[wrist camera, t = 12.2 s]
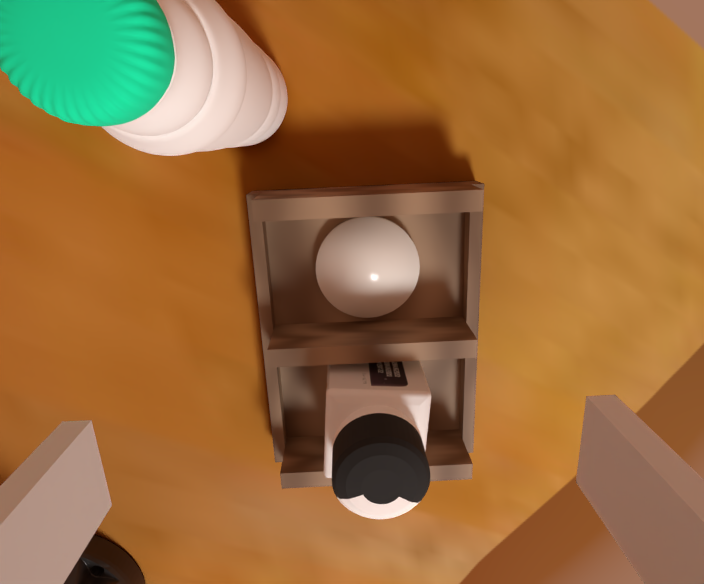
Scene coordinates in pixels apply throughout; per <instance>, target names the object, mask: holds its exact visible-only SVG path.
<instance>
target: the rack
mask: <svg viewBox="0 0 704 584" xmlns="http://www.w3.org/2000/svg"><path fill="white" fill-rule="evenodd" d="M246 198H247V207H248V216H249V225H250V235H251V244H252V253H253V262H254V271H255V280H256V290H257V299H258V308H259V317H260V326H261V335H262V345H263V354H264V363H265V372H266V381H267V391H268V400H269V409H270V418H271V427H272V436H273V446H274V455H275V462H282V467H281V472H280V476H281V485H282V488H301V487H322V486H332V478H327V477H325V475H324V444H325V413H326V387H327V369H328V365H336V364H357V363H378V362H399V361H420V363H421V366H422V369H423V372H424V375H425V378H426V381H427V384H428V387H429V389H430V392H431V404H430V414H429V423H428V432H427V441H426V451H425V453H426V456H427V460H428V464H429V468H430V481H442V480H462V479H472V466H473V464H472V461H471V459H470V456H469V454H468V453H473V443H474V418H475V394H476V370H477V346H478V321H479V297H480V273H481V249H482V224H483V200H484V184H483V183H480V182H477V181H460V182H438V183H416V184H394V185H372V186H350V187H328V188H306V189H284V190H262V191H251V192H250V193H248V194H247V195H246ZM373 216H380V217H383V218H386V219H388V220H391V221H393V222H394V223H396V224H397V225H399V226H400V227H401V228H402V229H403V230H404V231H405V232H406V233H407V234H408V235H409V237H410V238H411V240H412V241H413V243H414V245H415V247H416V249H417V252H418V256H419V263H420V270H419V277H418V281H417V284H416V287H415V288H414V290H413V292H412V294H411V295H410V297H409V298H408V299H407V300H406V301H405V302H404V303H403V304H402V305H401V306H400V307H398V308H397V309H395V310H394V311H392V312H390V313H388V314H385V315H382V316H378V317H371V318H362V317H355V316H352V315H349V314H346V313H344V312H342V311H340V310H338V309H337V308H336V307H334V306H333V305H332V304H331V303H330V302H329V301H328V300H327V299H326V297H325V296H324V295H323V293H322V291H321V289H320V287H319V285H318V281H317V277H316V260H317V254H318V251H319V248H320V246H321V243H322V241H323V240H324V238H325V237H326V235H327V234H328V233H329V232H330V231H331V230H332V229H333V228H334V227H335V226H337V225H338V224H339V223H341V222H343V221H345V220H347V219H350V218H352V217H373Z"/></svg>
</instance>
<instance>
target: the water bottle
mask: <svg viewBox="0 0 704 584" xmlns="http://www.w3.org/2000/svg"><path fill="white" fill-rule="evenodd" d="M0 68H1V70H2V71H3V72H5V73H6V74H7V75H8V77H9V80H10V82H11V83H12V84H13V85H15V86H16V87H18V89H19V91H20V93H21V94H22V95H23V96H25V97H27V98H28V99H30V100H31V102H32V103H33V104H34V105H35V106H37V107H39V108H42V109H44V110H45V112H47V113H48V114H50V115H53V116H56V117H58V118H60V119H61V120H63V121H65V122H69V123H74V124H81V125H86V126H101V127H102V128H103V129H105V130H106V131H107V132H108V133H109V134H111V135H112V136H113V137H115V138H116V139H118V140H119V141H121V142H122V143H124V144H126V145H128V146H130V147H132V148H135V149H137V150H140V151H143V152H146V153H150V154H155V155H164V156H176V155H184V154H189V153H193V152H199V151H211V150H218V149H223V148H233V147H240V146H251V145H255V144H258V143H261V142H263V141H264V140H266V139H268V138H269V137H270V136H271V135H273V134H274V133H275V132H276V130H277V129H278V128H279V126H280V125H281V123H282V121H283V119H284V116H285V113H286V109H287V88H286V84H285V81H284V78H283V76H282V74H281V72H280V70H279V68H278V67H277V65H276V64H275V63H274V61H273V60H272V59H271V58H270V57H269V56H268V55H267V54H265V53H264V52H263V50H262V49H261V48H260V47H259V46H257V45H256V44H255V43H254V42H253V41H252V40H251V38H250V37H249V36H248V35H247V34H246V33H245V32H244V31H243V29H242V28H241V27H240V26H239V25H238V24H237V23H236V22H234V21H233V20H232V19H231V18H230V17H229V16H228V15H227V14H226V13H225V11H224V10H223V9H222V7H221V6H220V5H219V4H218V3H217V2H216V1H215V0H0Z"/></svg>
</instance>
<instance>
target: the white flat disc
mask: <svg viewBox="0 0 704 584" xmlns="http://www.w3.org/2000/svg"><path fill="white" fill-rule="evenodd" d="M419 270H420V263H419V256H418V252H417V249H416V247H415V245H414V243H413V241H412V240H411V238H410V237H409V235H408V234H407V233H406V232H405V231H404V230H403V229H402V228H401V227H400V226H399V225H397V224H396V223H394V222H393V221H391V220H388V219H386V218H383V217H380V216H373V217H352V218H350V219H347V220H345V221H343V222H341V223H339V224H338V225H337V226H335V227H334V228H333V229H332V230H331V231H330V232H329V233H328V234H327V235H326V237H325V238H324V240H323V241H322V243H321V246H320V248H319V251H318V254H317V260H316V277H317V281H318V285H319V287H320V289H321V291H322V293H323V295H324V296H325V297H326V299H327V300H328V301H329V302H330V303H331V304H332V305H333V306H334V307H336V308H337V309H338V310H340V311H342V312H344V313H346V314H349V315H352V316H355V317H362V318H371V317H378V316H382V315H385V314H388V313H390V312H392V311H394V310H395V309H397V308H398V307H400V306H401V305H402V304H403V303H404V302H405V301H406V300H407V299H408V298H409V297H410V295H411V294H412V292H413V290H414V288H415V287H416V284H417V281H418V277H419Z"/></svg>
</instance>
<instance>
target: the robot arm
mask: <svg viewBox="0 0 704 584" xmlns="http://www.w3.org/2000/svg"><path fill="white" fill-rule="evenodd" d="M576 483H577V484H578V486H579V487H580V489H581V490H582V492H583V493H584V495H585V496H586V497H587V499H588V501H589V502H590V504H591V505H592V506H593V508H594V510H595V511H596V513H597V514H598V515H599V517H600V519H601V520H602V521H603V523H604V524H605V526H606V527H607V529H608V530H609V532H610V533H611V535H612V536H613V538H614V539H615V541H616V542H617V544H618V545H619V547H620V548H621V550H622V551H623V553H624V554H625V556H626V557H627V559H628V560H629V562H630V563H631V565H632V566H633V568H634V569H635V571H636V572H637V574H638V575H639V577H640V578H641V579H642V581H643V582H644V584H704V479H703V478H702V477H701V476H699V475H698V474H697V473H696V472H695V471H694V470H693V469H692V468H691V467H690V466H689V465H688V464H687V463H686V462H685V461H684V460H683V459H682V458H681V457H680V456H679V455H678V454H676V453H675V452H674V451H673V450H672V449H671V448H670V447H669V446H668V445H667V444H666V443H665V442H664V441H663V440H662V439H661V438H660V437H659V436H658V435H657V434H656V433H654V432H653V431H652V430H651V429H650V428H649V427H648V426H647V425H646V424H645V423H644V422H643V421H642V420H641V419H640V418H639V417H638V416H637V415H636V414H635V413H634V412H633V411H632V410H630V409H629V408H628V407H627V406H626V405H625V404H624V403H623V402H622V401H621V400H620V399H619V398H618V397H617V396H616V395H602V396H586V404H585V413H584V421H583V429H582V437H581V445H580V454H579V462H578V470H577V479H576ZM111 506H112V504H111V499H110V495H109V491H108V487H107V483H106V479H105V475H104V470H103V466H102V462H101V458H100V454H99V450H98V446H97V441H96V437H95V433H94V429H93V425H92V421H91V420H88V421H67V422H62V423H61V424H60V425H59V426H58V427H57V428H56V429H55V430H54V431H53V432H52V433H51V434H50V435H49V436H48V437H47V438H46V439H45V440H44V441H43V442H42V443H41V444H40V445H39V446H38V447H37V448H36V450H35V451H34V452H33V453H32V454H31V455H30V456H29V457H28V458H27V459H26V460H25V461H24V462H23V463H22V464H21V465H20V466H19V467H18V468H17V469H16V470H15V471H14V472H13V473H12V474H11V475H10V476H9V477H8V479H7V480H6V481H5V482H4V483H3V484H2V485H1V486H0V584H145V580H144V577H143V575H142V573H141V571H140V569H139V567H138V566H137V564H136V563H135V562H134V561H133V559H132V558H131V557H130V556H129V555H128V554H127V553H126V552H124V551H123V550H122V549H121V548H119V547H118V546H116V545H115V544H113V543H111V542H109V541H108V540H105V539H103V538H101V537H98V536H96V535H94V533H95V532H96V530H97V529H98V527H99V525H100V524H101V522H102V520H103V519H104V517H105V516H106V514H107V512H108V511H109V509H110V507H111Z"/></svg>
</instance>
